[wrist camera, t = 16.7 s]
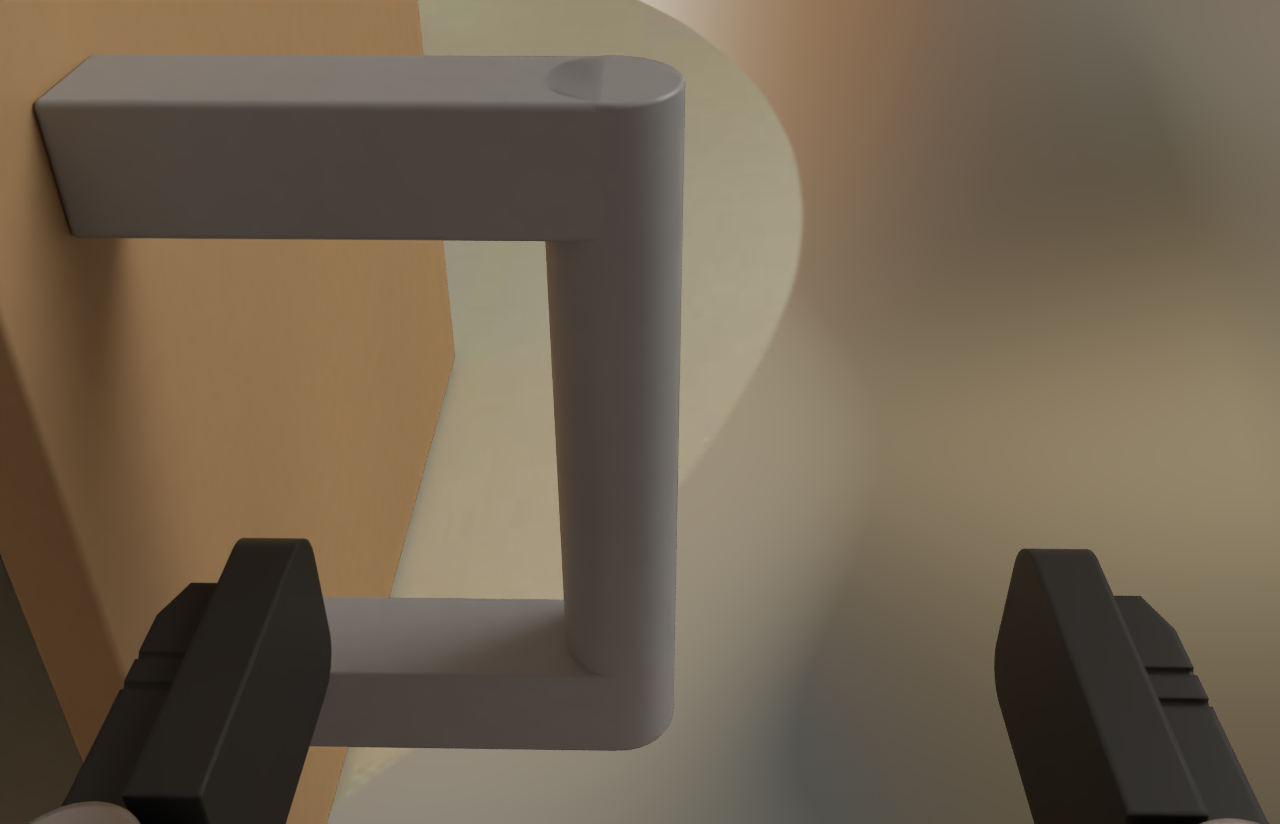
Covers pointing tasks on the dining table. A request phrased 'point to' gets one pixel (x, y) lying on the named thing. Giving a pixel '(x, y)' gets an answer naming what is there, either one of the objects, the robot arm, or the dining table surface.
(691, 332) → the dining table surface
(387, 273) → the wooden cabinet door
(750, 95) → the dining table surface
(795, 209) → the dining table surface
